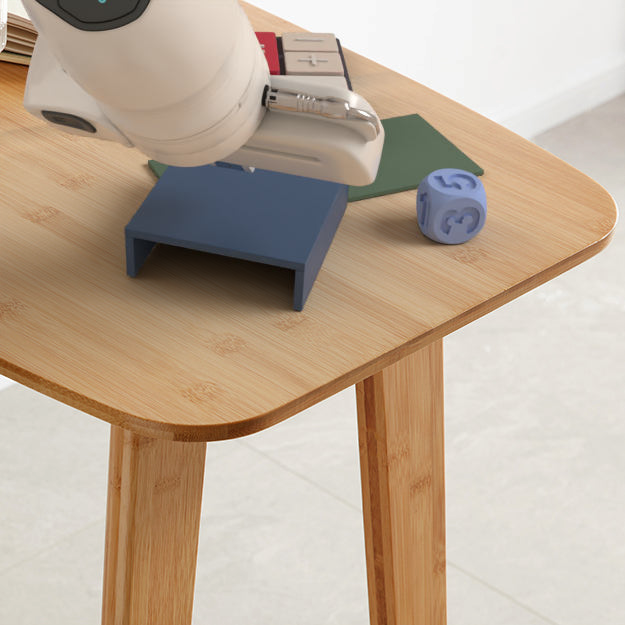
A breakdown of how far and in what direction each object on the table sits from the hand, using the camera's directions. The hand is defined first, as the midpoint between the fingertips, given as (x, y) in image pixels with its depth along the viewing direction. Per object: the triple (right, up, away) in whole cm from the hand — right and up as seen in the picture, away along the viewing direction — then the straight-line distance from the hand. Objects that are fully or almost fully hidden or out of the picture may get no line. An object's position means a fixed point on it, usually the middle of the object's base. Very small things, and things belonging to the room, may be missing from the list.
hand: (235, 157), depth 74 cm
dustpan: (-1, -7, -1) cm, 8 cm away
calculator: (+2, +8, +23) cm, 25 cm away
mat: (+5, +1, +14) cm, 15 cm away
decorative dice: (+15, -4, +9) cm, 18 cm away
